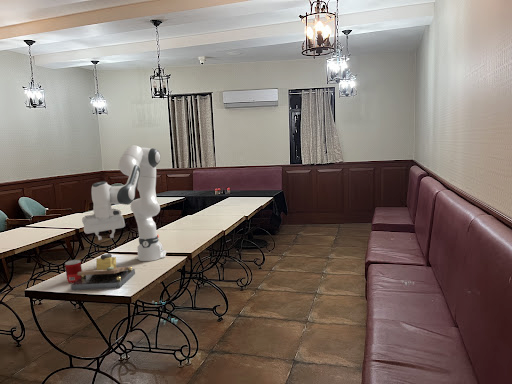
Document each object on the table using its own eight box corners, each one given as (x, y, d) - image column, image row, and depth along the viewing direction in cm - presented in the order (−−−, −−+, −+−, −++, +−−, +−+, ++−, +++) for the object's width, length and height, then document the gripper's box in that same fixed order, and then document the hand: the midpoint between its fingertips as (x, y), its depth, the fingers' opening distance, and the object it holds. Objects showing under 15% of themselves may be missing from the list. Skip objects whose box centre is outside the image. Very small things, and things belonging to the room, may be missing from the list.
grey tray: (91, 275, 230) (90, 267, 229) (135, 273, 228) (134, 265, 228) (71, 290, 208) (70, 281, 208) (119, 288, 206) (118, 278, 206)
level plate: (94, 271, 228) (94, 254, 229) (128, 269, 227) (128, 252, 227) (77, 275, 209) (77, 257, 210) (114, 273, 208) (113, 255, 209)
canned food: (85, 280, 224) (82, 261, 222) (70, 284, 218) (67, 264, 217) (79, 277, 229) (77, 258, 228) (65, 281, 224) (62, 262, 222)
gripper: (82, 216, 200) (86, 243, 202) (124, 210, 211) (127, 236, 212) (80, 215, 205) (84, 241, 207) (121, 209, 216) (123, 234, 218)
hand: (106, 238), depth 210 cm, fingers open, 5 cm apart
